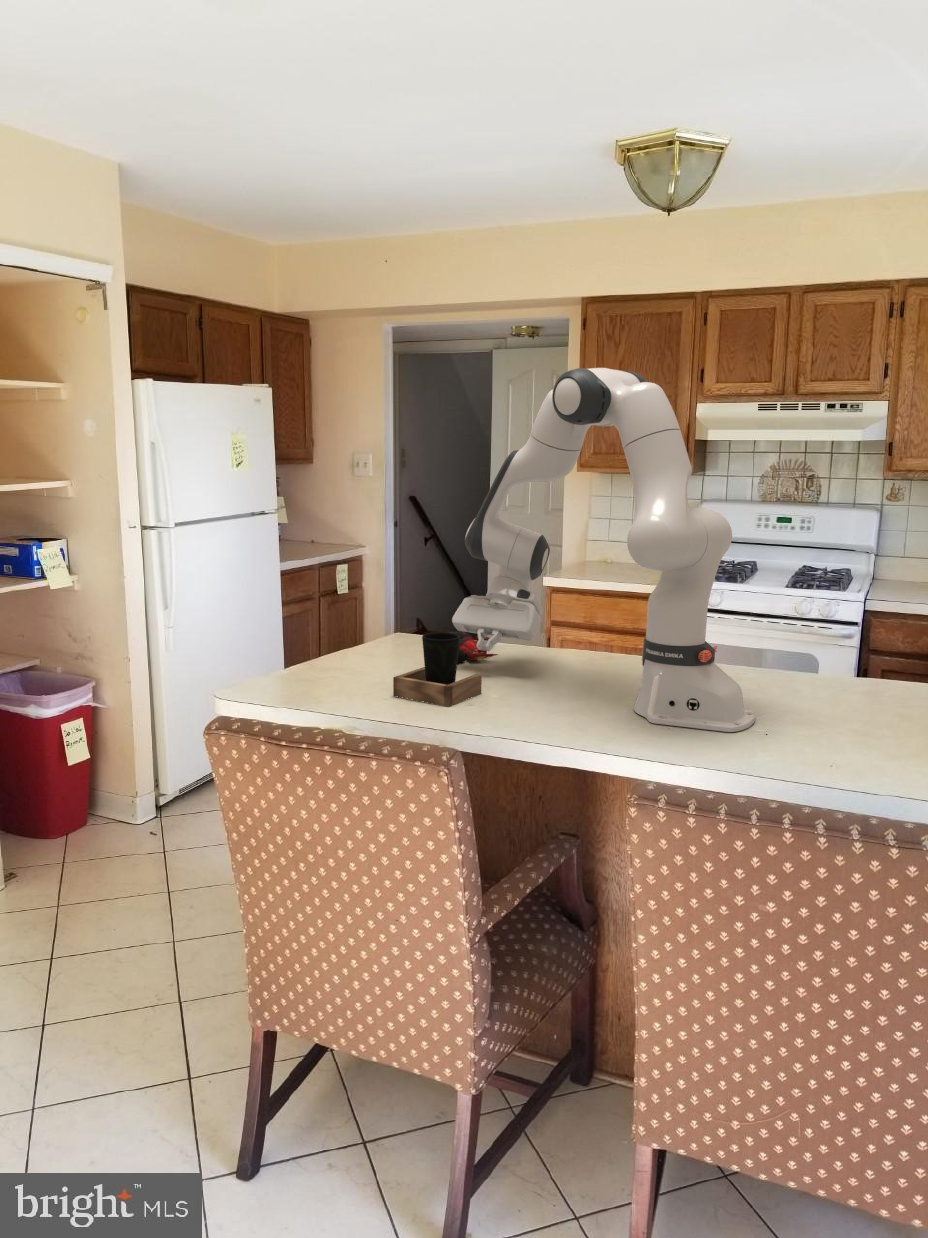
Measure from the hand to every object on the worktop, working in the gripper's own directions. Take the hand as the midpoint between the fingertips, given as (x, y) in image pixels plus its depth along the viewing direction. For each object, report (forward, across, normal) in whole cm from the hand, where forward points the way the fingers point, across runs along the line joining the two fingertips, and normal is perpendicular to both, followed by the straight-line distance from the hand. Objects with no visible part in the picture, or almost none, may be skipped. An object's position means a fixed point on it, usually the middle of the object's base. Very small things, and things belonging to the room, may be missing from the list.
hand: (482, 649), depth 205 cm
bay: (+17, 0, -8) cm, 18 cm away
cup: (+16, 0, -7) cm, 18 cm away
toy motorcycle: (-8, -15, +18) cm, 24 cm away
